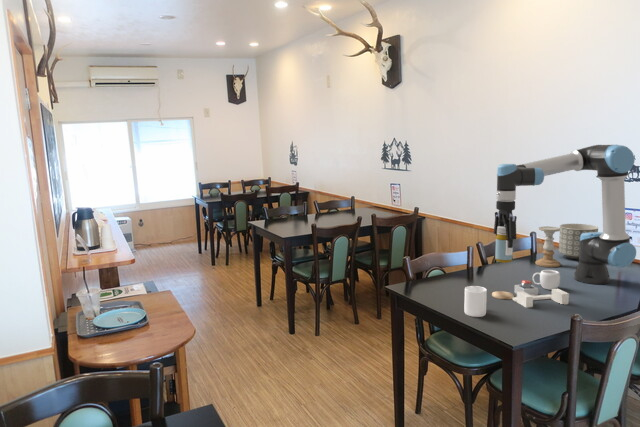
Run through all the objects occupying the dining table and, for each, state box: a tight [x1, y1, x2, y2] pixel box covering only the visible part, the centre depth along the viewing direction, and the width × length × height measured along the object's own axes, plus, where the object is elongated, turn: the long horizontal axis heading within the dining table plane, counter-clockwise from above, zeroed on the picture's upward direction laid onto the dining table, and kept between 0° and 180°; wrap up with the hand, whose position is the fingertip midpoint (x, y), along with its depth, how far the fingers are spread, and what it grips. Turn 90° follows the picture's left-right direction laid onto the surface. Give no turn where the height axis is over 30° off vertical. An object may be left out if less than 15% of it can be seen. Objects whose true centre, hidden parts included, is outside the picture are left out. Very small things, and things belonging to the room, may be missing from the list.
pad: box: [491, 290, 515, 300], centre depth 215 cm, size 9×9×1 cm
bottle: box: [494, 226, 514, 264], centre depth 211 cm, size 7×7×15 cm
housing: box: [512, 284, 570, 309], centre depth 210 cm, size 19×19×4 cm
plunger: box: [520, 279, 532, 289], centre depth 216 cm, size 4×4×5 cm
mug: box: [532, 269, 561, 291], centre depth 225 cm, size 12×8×8 cm
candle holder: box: [534, 225, 561, 268], centre depth 263 cm, size 12×12×20 cm
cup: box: [463, 285, 488, 318], centre depth 195 cm, size 8×12×10 cm
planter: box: [558, 223, 599, 261], centre depth 275 cm, size 19×19×18 cm
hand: (504, 252), depth 212 cm, fingers closed on bottle, 7 cm apart
